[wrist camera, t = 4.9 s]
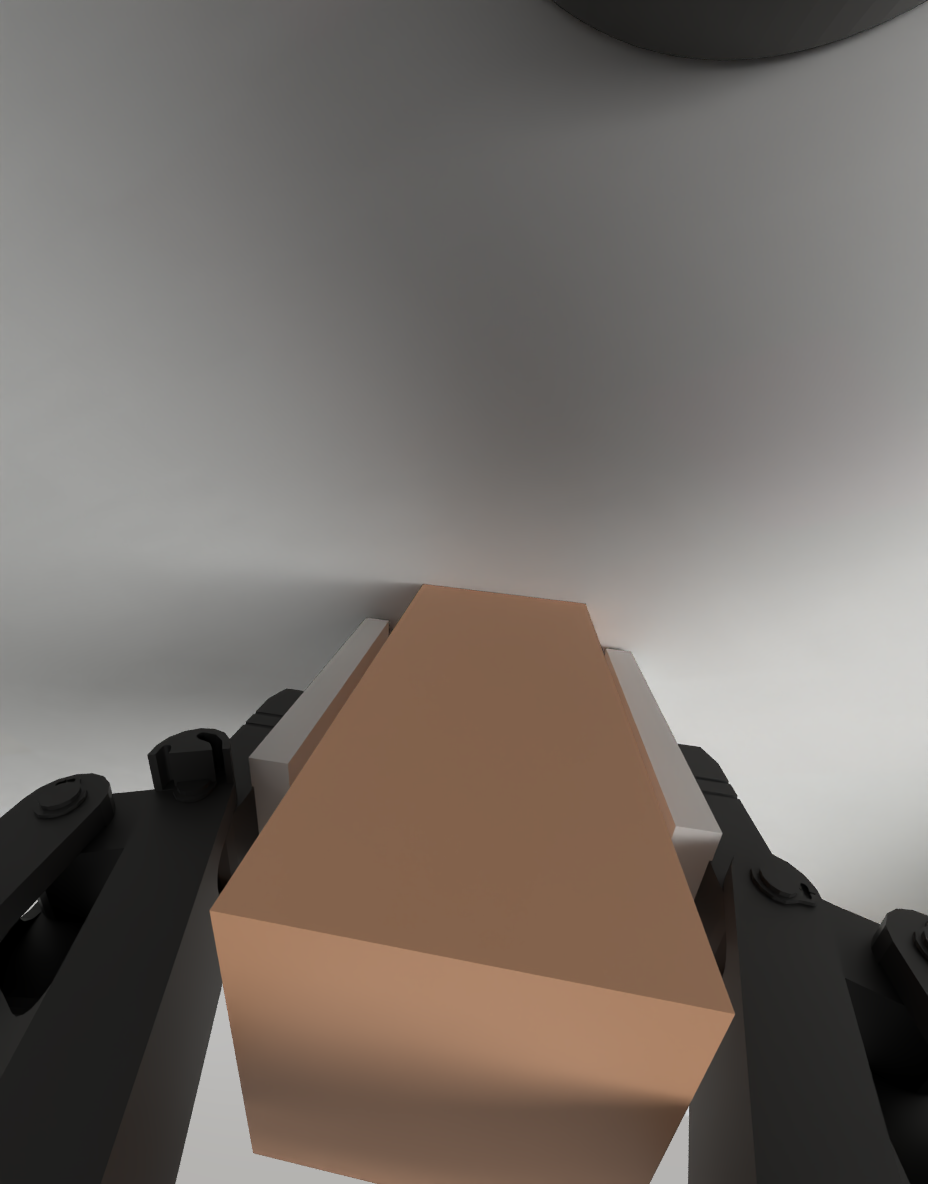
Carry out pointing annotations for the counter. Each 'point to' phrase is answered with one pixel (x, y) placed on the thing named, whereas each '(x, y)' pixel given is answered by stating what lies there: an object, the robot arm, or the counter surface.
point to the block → (471, 921)
